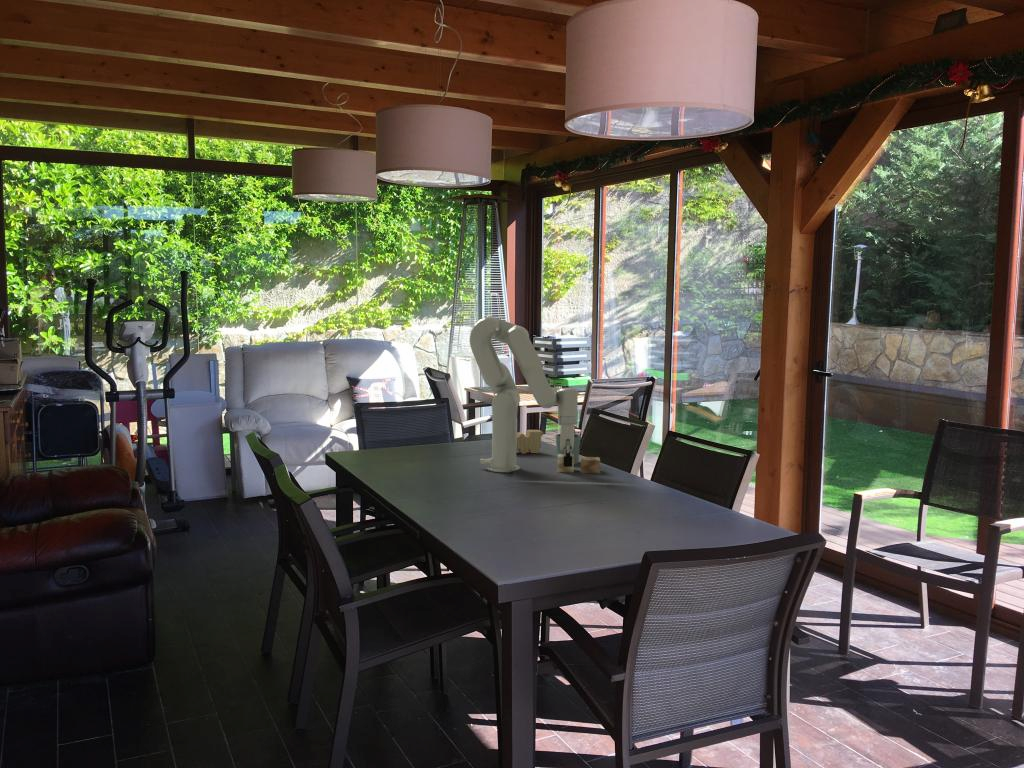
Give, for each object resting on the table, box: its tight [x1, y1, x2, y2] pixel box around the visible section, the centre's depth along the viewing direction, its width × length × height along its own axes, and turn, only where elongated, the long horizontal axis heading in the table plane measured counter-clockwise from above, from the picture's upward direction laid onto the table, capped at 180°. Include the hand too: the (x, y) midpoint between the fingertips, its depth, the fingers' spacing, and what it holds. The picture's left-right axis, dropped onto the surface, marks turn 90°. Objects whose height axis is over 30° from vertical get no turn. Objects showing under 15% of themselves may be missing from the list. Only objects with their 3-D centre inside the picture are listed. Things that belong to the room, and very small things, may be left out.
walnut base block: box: [580, 456, 601, 474], centre depth 337 cm, size 7×7×5 cm
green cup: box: [555, 433, 581, 465], centre depth 356 cm, size 10×10×12 cm
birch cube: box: [557, 454, 575, 473], centre depth 337 cm, size 6×6×6 cm
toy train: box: [516, 429, 544, 455], centre depth 381 cm, size 6×17×10 cm, turn 105°
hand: (567, 464), depth 337 cm, fingers open, 9 cm apart
